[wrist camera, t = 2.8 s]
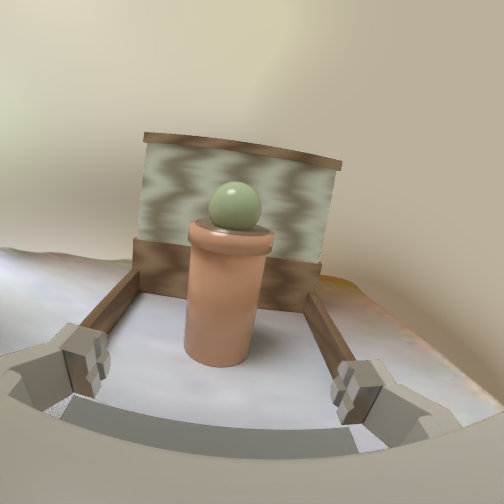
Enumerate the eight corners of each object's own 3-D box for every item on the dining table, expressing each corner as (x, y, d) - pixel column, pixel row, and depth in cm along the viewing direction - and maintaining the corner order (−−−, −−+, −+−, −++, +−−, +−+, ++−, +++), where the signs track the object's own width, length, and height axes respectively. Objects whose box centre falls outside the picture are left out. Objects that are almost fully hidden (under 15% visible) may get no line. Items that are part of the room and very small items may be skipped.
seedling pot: (174, 363, 24) (188, 176, 19) (185, 324, 30) (200, 175, 26) (254, 373, 24) (289, 191, 20) (250, 332, 31) (276, 186, 27)
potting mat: (24, 504, 6) (18, 499, 6) (76, 402, 16) (73, 395, 16) (384, 540, 8) (390, 536, 8) (344, 433, 18) (348, 427, 17)
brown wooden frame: (74, 365, 20) (71, 105, 14) (134, 286, 37) (147, 133, 32) (352, 399, 22) (424, 157, 16) (308, 309, 39) (339, 161, 34)
